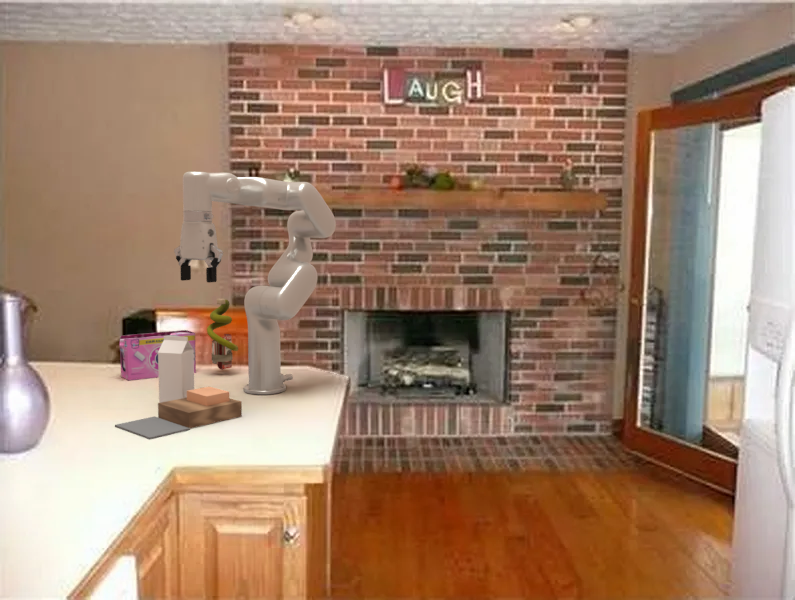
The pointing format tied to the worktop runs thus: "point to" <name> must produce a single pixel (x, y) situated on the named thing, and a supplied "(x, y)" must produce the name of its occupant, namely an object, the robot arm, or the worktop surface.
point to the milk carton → (175, 368)
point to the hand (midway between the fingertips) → (198, 281)
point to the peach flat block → (208, 396)
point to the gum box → (146, 353)
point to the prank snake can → (221, 344)
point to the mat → (152, 427)
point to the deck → (198, 412)
